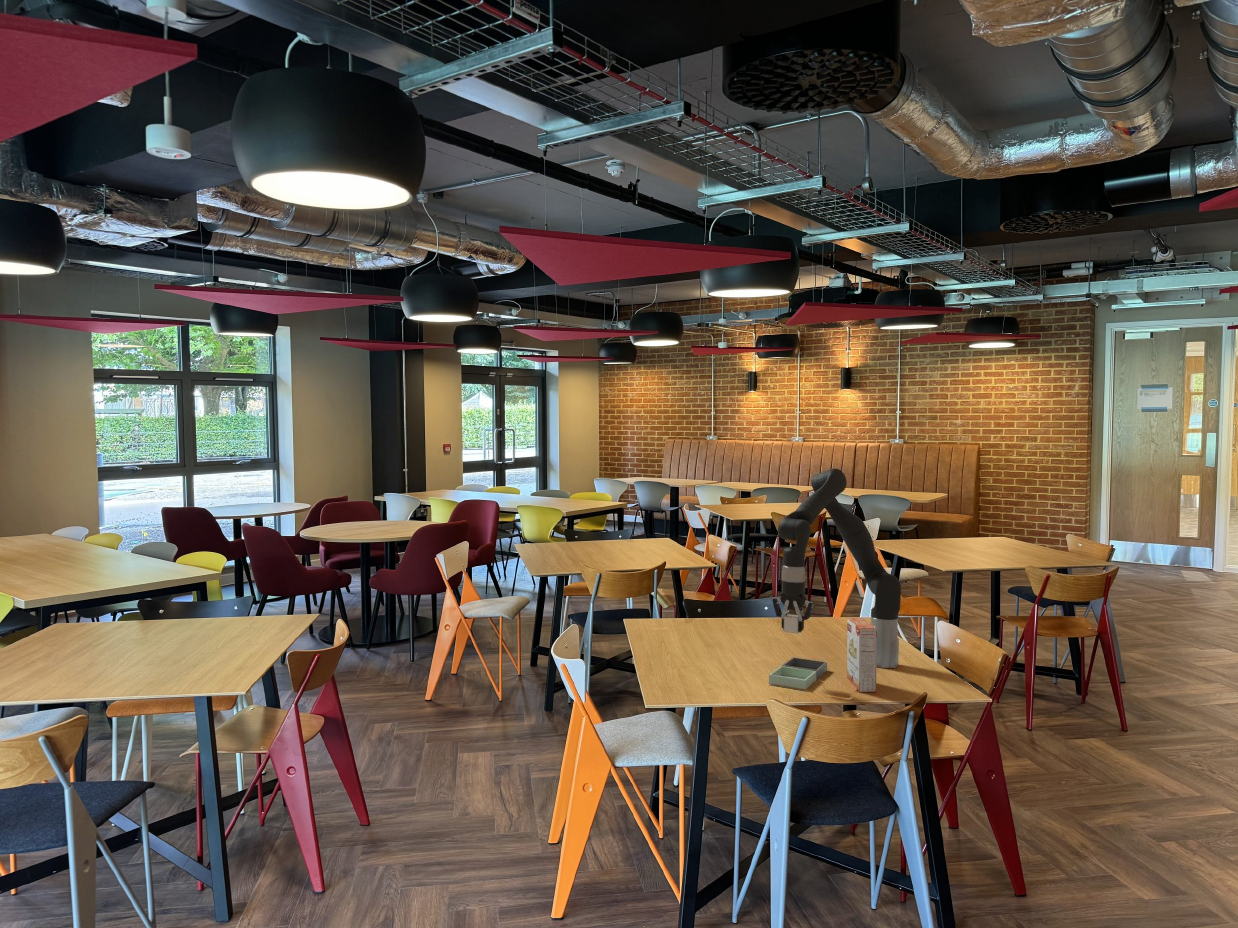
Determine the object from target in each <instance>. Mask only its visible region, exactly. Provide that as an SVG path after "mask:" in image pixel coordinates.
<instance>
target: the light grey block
mask: <svg viewBox="0 0 1238 928" xmlns="http://www.w3.org/2000/svg"><path fill="white" fill-rule="evenodd" d="M798 621H799V619H798V615H797V614H789V613H788V615H787V616H785V617H784V630H783V632H784V633H789V634H796V635H797V634H799V633H800V632H798Z"/></svg>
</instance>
